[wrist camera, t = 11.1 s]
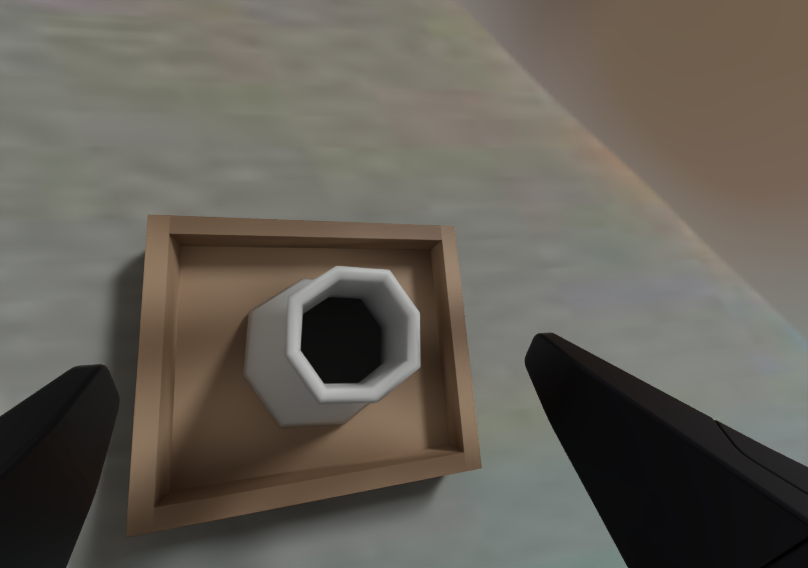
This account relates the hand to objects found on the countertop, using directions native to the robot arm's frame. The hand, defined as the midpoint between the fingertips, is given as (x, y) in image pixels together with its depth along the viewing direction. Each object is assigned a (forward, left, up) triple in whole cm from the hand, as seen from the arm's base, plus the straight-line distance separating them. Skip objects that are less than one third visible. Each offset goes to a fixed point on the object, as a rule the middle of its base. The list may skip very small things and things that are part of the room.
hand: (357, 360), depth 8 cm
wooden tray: (0, 0, -11) cm, 11 cm away
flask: (0, 0, -10) cm, 10 cm away
